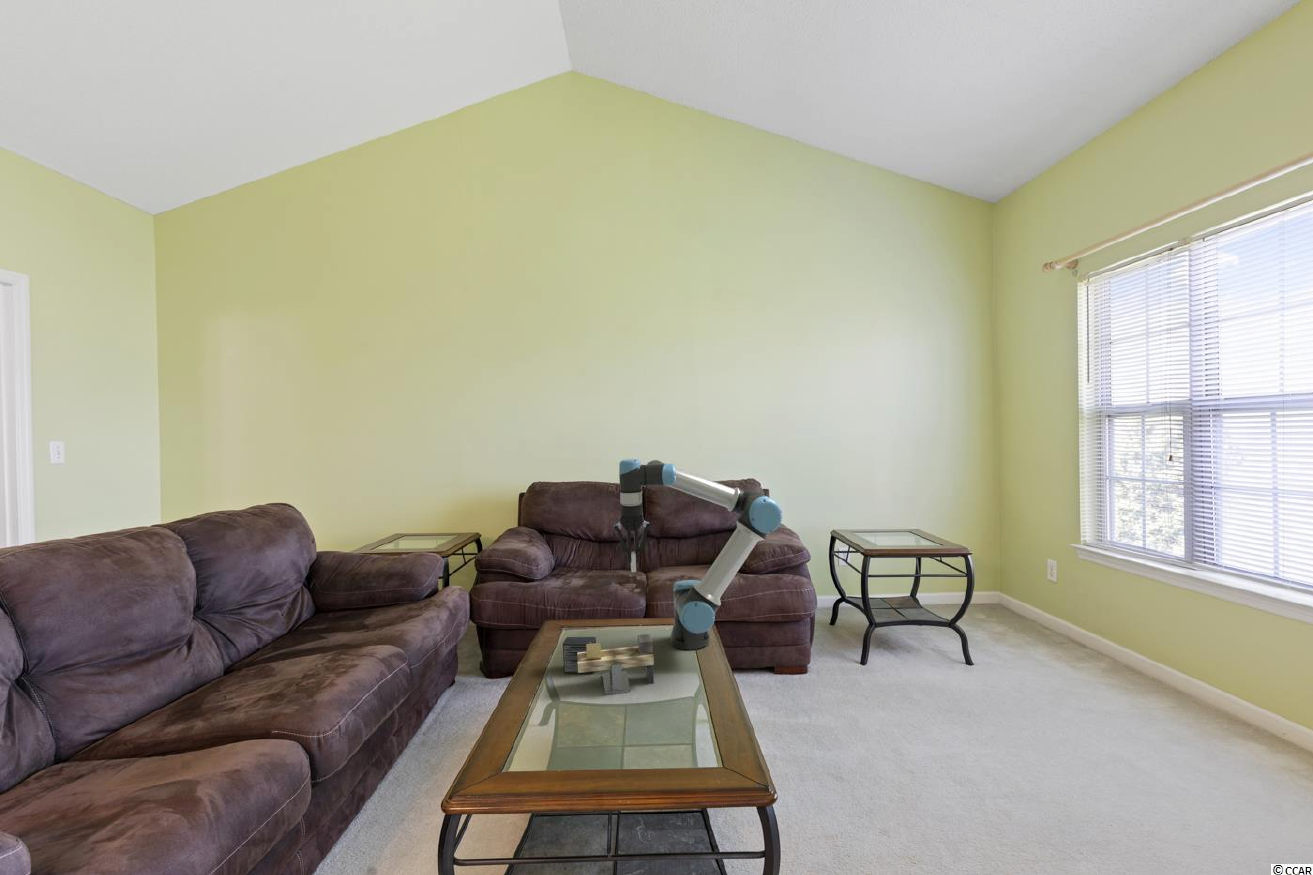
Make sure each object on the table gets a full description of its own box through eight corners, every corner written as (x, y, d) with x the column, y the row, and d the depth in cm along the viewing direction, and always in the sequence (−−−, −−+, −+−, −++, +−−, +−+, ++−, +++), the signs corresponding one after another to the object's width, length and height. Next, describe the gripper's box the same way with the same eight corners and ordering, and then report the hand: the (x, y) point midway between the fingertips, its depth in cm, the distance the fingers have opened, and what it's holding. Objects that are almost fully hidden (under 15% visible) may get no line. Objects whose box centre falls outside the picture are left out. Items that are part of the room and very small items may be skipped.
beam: (649, 653, 184) (649, 631, 184) (654, 665, 175) (653, 643, 175) (577, 660, 181) (576, 639, 180) (578, 674, 172) (577, 651, 171)
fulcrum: (649, 670, 186) (648, 644, 186) (655, 689, 174) (654, 661, 174) (602, 676, 184) (601, 649, 183) (604, 694, 172) (603, 666, 171)
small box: (597, 665, 192) (596, 635, 191) (593, 674, 185) (592, 643, 185) (568, 665, 193) (567, 635, 192) (563, 673, 186) (562, 643, 186)
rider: (600, 657, 179) (600, 642, 179) (601, 663, 175) (600, 648, 175) (586, 659, 179) (586, 644, 178) (587, 665, 174) (586, 650, 174)
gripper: (648, 501, 195) (650, 566, 197) (611, 503, 193) (614, 569, 194) (651, 504, 188) (653, 572, 189) (613, 507, 186) (615, 575, 187)
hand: (633, 571), depth 192 cm, fingers closed
